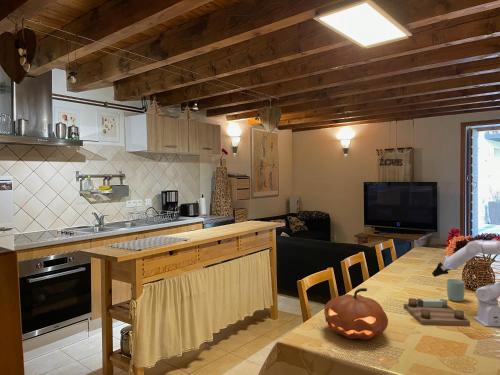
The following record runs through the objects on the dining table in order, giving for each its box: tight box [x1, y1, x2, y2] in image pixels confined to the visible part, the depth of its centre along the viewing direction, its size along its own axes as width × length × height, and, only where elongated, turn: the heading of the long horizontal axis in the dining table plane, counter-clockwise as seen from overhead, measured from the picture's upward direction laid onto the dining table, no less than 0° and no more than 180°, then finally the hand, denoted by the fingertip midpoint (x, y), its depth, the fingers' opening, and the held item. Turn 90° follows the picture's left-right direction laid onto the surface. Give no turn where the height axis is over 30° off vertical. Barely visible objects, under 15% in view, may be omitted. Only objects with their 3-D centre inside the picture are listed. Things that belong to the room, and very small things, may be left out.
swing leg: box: [416, 298, 448, 307], centre depth 170 cm, size 13×3×3 cm, turn 87°
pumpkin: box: [323, 287, 389, 341], centre depth 145 cm, size 25×25×19 cm
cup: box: [446, 278, 466, 303], centre depth 184 cm, size 8×8×10 cm
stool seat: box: [403, 297, 471, 327], centre depth 163 cm, size 20×20×5 cm
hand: (437, 273), depth 175 cm, fingers open, 7 cm apart
